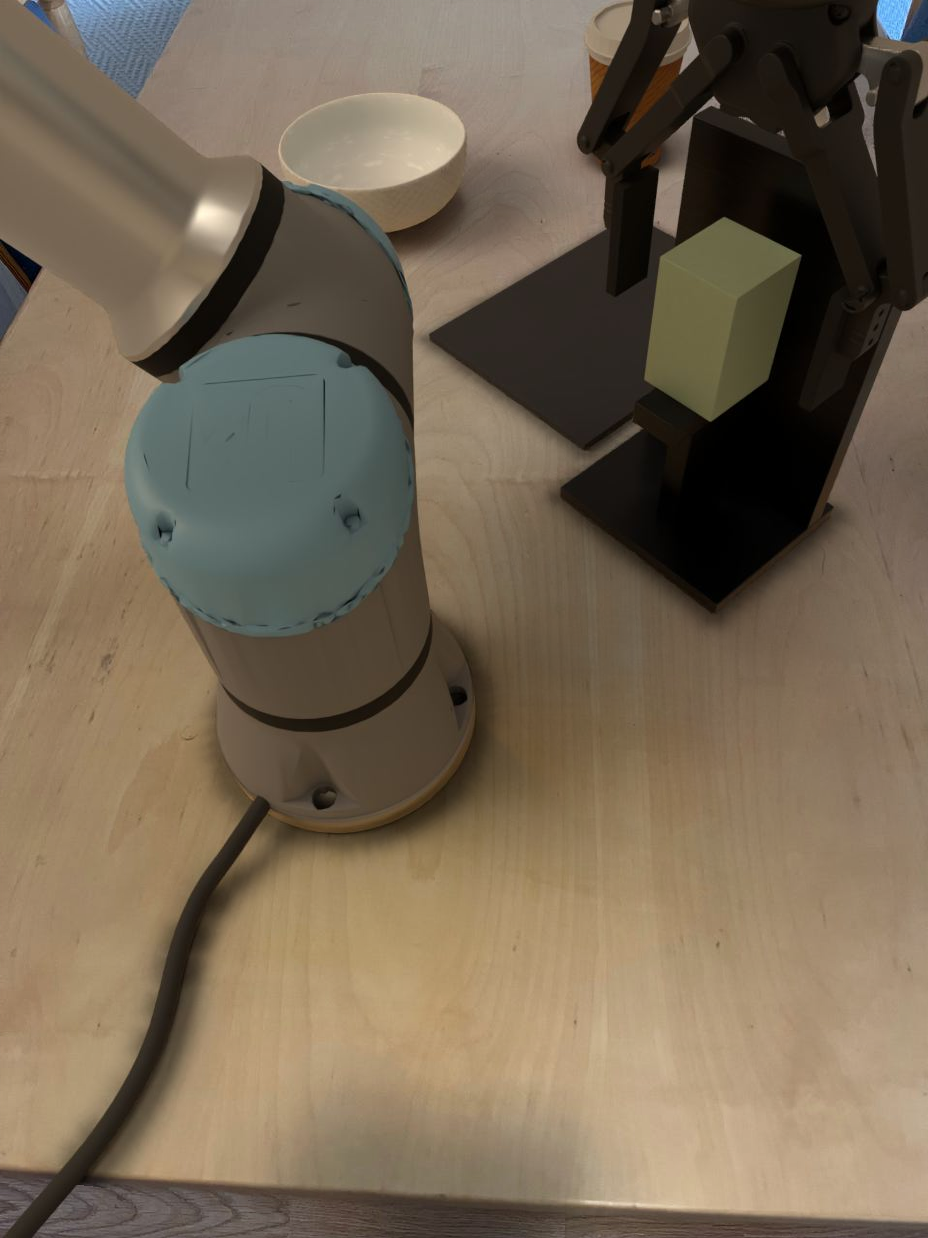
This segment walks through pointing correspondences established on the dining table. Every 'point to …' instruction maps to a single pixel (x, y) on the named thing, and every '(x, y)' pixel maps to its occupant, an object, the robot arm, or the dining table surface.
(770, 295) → the sage block
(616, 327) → the desk mat
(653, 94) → the disposable coffee cup
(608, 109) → the robot arm
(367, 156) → the cereal bowl
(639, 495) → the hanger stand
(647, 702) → the dining table surface
